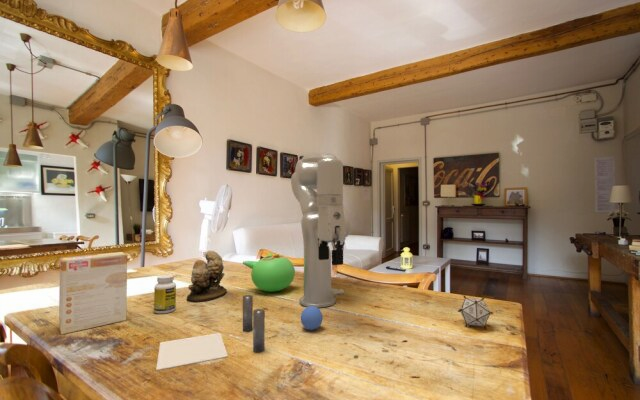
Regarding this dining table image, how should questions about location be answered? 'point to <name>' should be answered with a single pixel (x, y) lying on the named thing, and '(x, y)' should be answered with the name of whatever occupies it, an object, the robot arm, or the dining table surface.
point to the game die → (475, 312)
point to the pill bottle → (165, 294)
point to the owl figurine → (207, 279)
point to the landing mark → (190, 351)
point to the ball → (311, 317)
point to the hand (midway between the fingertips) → (330, 262)
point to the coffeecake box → (92, 291)
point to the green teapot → (271, 272)
